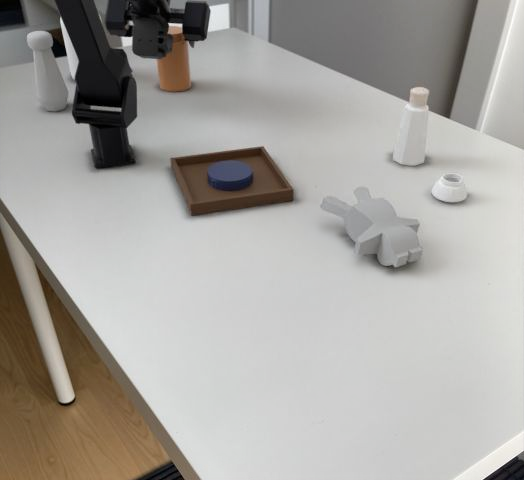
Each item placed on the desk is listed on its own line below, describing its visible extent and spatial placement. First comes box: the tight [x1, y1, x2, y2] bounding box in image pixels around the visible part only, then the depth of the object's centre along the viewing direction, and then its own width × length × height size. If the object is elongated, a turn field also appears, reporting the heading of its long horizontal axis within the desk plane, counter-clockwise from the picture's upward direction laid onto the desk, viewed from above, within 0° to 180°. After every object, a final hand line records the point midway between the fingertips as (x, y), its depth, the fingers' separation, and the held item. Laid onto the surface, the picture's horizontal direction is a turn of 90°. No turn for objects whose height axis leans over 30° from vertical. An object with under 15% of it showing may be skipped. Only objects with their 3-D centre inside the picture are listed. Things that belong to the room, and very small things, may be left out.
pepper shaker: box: [392, 86, 430, 167], centre depth 96 cm, size 5×5×11 cm
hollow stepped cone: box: [431, 172, 468, 203], centre depth 89 cm, size 5×3×5 cm
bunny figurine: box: [319, 186, 424, 268], centre depth 80 cm, size 10×5×15 cm
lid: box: [207, 161, 253, 191], centre depth 92 cm, size 7×7×2 cm
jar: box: [156, 25, 192, 93], centre depth 120 cm, size 6×6×10 cm
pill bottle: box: [59, 12, 103, 81], centre depth 123 cm, size 8×8×15 cm
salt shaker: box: [26, 30, 69, 113], centre depth 111 cm, size 6×6×13 cm
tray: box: [170, 145, 295, 216], centre depth 92 cm, size 15×15×2 cm
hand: (170, 44), depth 118 cm, fingers open, 9 cm apart
